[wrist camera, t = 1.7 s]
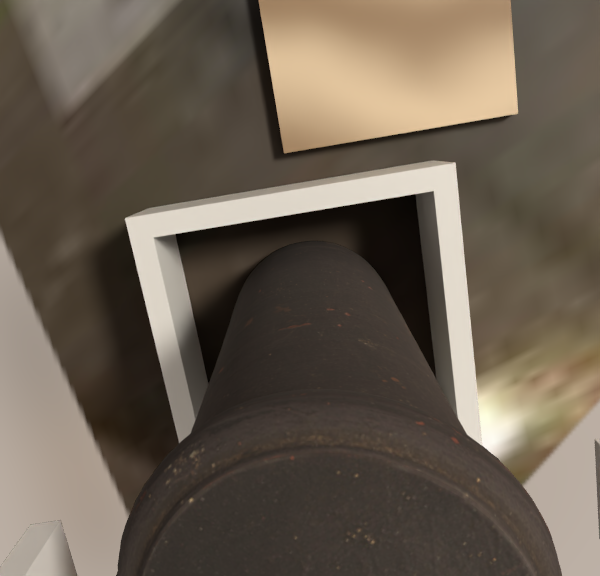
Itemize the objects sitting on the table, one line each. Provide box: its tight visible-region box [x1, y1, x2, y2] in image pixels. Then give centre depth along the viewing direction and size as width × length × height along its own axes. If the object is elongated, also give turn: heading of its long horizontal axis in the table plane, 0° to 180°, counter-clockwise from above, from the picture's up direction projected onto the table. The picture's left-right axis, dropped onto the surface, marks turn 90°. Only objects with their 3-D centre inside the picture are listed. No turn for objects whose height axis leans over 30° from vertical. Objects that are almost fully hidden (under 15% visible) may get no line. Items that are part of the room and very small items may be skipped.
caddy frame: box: [125, 160, 482, 445], centre depth 27 cm, size 14×14×4 cm
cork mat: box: [258, 0, 518, 153], centre depth 25 cm, size 11×11×1 cm
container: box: [116, 241, 562, 576], centre depth 19 cm, size 9×9×20 cm
